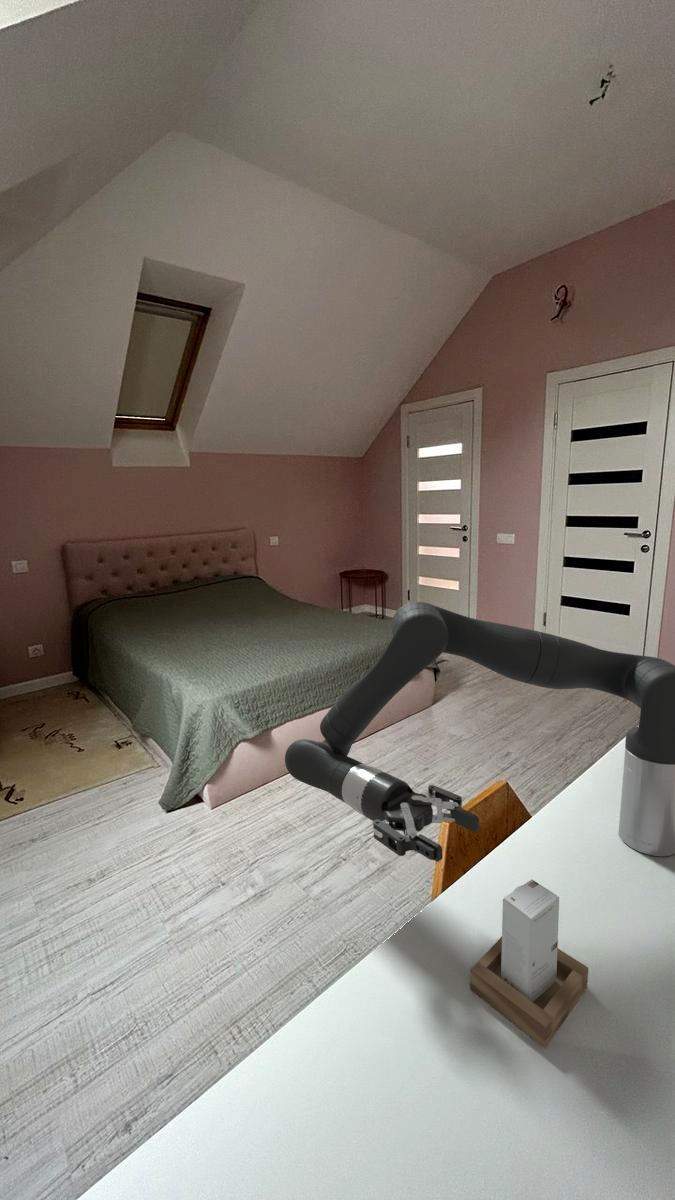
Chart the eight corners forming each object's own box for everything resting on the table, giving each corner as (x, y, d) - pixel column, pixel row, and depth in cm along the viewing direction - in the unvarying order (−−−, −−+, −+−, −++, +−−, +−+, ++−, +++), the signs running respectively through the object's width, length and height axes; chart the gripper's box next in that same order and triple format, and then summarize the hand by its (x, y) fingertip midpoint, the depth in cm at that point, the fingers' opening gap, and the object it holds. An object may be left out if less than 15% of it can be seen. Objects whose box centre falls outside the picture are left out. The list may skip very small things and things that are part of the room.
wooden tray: (515, 939, 73) (516, 921, 72) (587, 987, 66) (588, 967, 65) (470, 989, 66) (470, 969, 65) (544, 1049, 58) (545, 1027, 58)
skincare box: (528, 1008, 62) (532, 921, 60) (498, 980, 66) (500, 898, 64) (558, 980, 66) (563, 897, 63) (527, 955, 69) (531, 876, 67)
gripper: (341, 791, 78) (426, 839, 66) (404, 757, 87) (489, 793, 75) (345, 835, 79) (428, 890, 67) (406, 797, 88) (489, 839, 76)
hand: (460, 839), depth 71 cm, fingers open, 8 cm apart
